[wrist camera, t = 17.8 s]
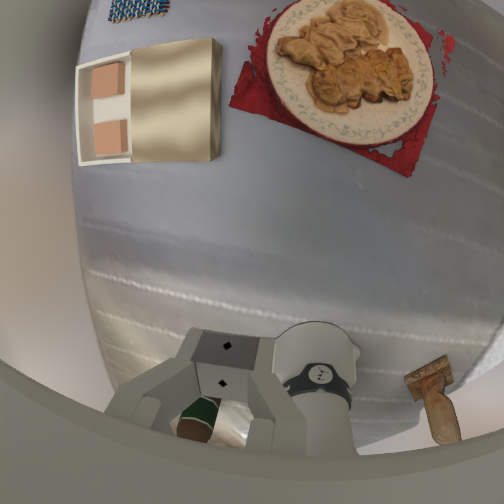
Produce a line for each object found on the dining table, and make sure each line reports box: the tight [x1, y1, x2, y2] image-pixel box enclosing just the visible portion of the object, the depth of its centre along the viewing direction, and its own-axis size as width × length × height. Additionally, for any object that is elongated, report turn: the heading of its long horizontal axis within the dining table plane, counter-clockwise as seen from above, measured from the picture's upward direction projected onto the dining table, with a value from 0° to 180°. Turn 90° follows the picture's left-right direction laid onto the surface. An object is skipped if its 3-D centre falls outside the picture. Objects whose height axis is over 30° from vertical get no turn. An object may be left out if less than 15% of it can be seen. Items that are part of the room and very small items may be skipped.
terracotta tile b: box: [91, 62, 125, 99], centre depth 33 cm, size 5×5×2 cm
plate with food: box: [229, 0, 455, 178], centre depth 29 cm, size 25×26×4 cm
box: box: [75, 51, 133, 166], centre depth 35 cm, size 16×10×4 cm, turn 178°
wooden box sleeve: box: [131, 38, 222, 163], centre depth 33 cm, size 16×11×5 cm
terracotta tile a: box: [94, 119, 128, 155], centre depth 37 cm, size 5×5×2 cm
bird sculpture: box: [404, 356, 462, 445], centre depth 39 cm, size 11×12×32 cm
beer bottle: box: [176, 395, 221, 443], centre depth 52 cm, size 8×8×24 cm
